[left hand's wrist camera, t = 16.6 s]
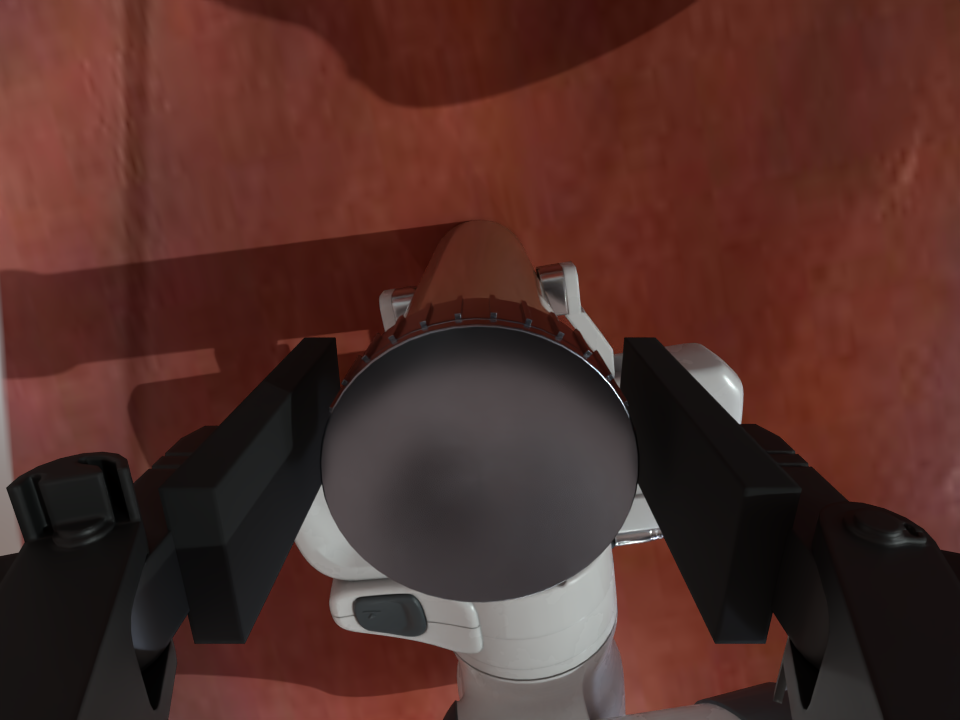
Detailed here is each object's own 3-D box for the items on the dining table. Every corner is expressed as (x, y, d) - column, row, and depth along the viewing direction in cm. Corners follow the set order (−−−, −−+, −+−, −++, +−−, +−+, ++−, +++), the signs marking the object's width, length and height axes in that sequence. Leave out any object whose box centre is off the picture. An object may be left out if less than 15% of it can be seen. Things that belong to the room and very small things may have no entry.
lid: (675, 377, 11) (711, 419, 10) (528, 580, 13) (536, 647, 11) (417, 237, 10) (404, 254, 9) (297, 477, 12) (265, 532, 10)
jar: (497, 332, 30) (523, 602, 12) (414, 287, 29) (306, 503, 11) (546, 251, 28) (664, 418, 10) (461, 200, 27) (425, 286, 9)
